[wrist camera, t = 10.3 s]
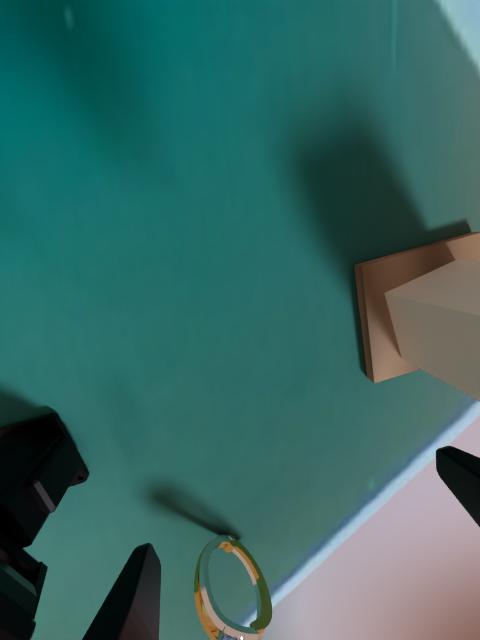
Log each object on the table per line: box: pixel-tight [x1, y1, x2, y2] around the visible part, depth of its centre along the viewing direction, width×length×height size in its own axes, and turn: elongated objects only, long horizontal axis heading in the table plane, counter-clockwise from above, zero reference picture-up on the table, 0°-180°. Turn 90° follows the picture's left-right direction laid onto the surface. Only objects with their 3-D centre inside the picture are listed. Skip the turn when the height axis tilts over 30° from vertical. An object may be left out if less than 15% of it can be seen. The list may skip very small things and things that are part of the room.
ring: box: [194, 534, 272, 640], centre depth 21 cm, size 7×3×8 cm, turn 48°
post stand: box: [354, 232, 480, 383], centre depth 19 cm, size 10×10×4 cm
